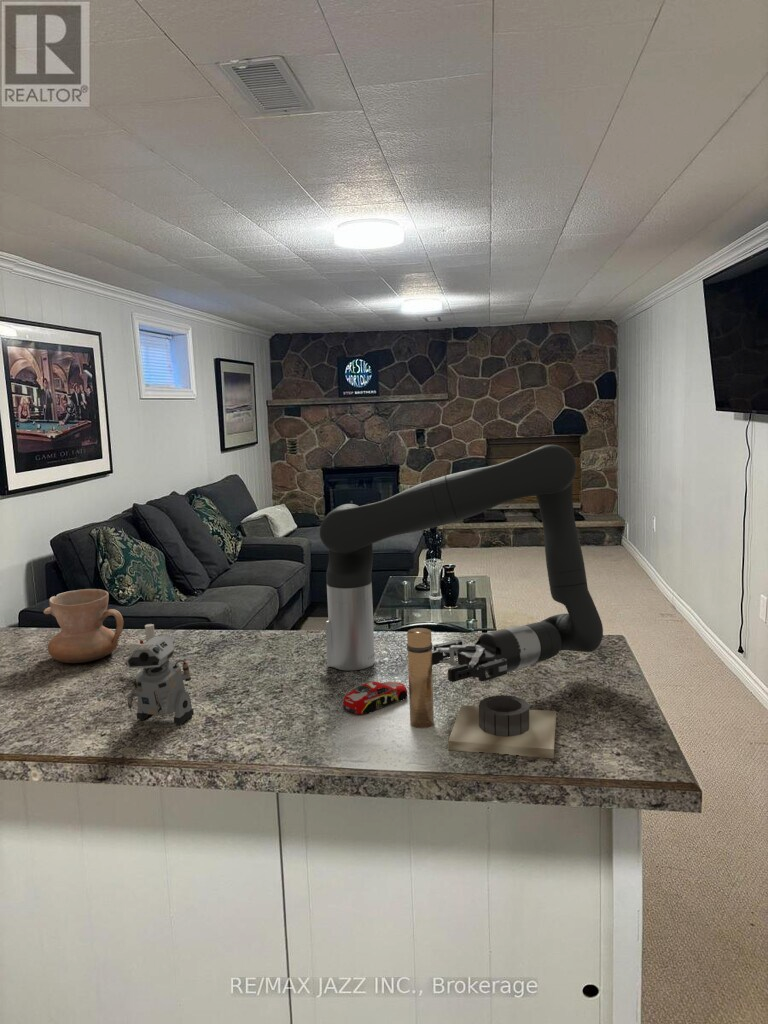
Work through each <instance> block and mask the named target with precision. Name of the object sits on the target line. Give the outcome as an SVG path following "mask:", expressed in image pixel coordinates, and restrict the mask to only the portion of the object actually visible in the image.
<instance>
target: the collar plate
mask: <svg viewBox="0 0 768 1024" xmlns="http://www.w3.org/2000/svg"><path fill="white" fill-rule="evenodd" d="M457 713H458V714H457V716H456V719H455V721H454V725H453V727H452V729H451V733H450V735H449V737H448V741H447V746H448V747H447V750H448V751H455V752H457V751H458V752H468V753H479V752H485V753H484V754H491V753H499V754H498V755H503V754H509V755H508V756H516V755H519V756H518V757H528V758H530V757H531V758H540V757H541V758H542V759H551V760H552V759H554V757H555V745H556V731H555V730H556V727H557V711H555V710H543V709H542V710H540V709H530V703H529V702H528V701H526V700H525V699H523V698H520V697H517V696H514V695H513V696H512V695H503V694H499V695H493V696H487V697H485V698H483V699H480V701H479V704H478V705H467V704H461V705H460V708H459V711H458V712H457Z"/></svg>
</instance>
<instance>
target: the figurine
mask: <svg viewBox="0 0 768 1024" xmlns="http://www.w3.org/2000/svg"><path fill="white" fill-rule="evenodd" d="M175 641H176V640H175V639H174V638H173V637H171V636H170V635H169V634H167V635H166V634H165V635H155V636H154V637H153V638H151V639H150V640H148V641H146V640H145V641H144V640H143V639H141V640H139V643H140V644H142V645H141V646H139V647H138V648H136V649H135V650H134V651H132V652H133V653H132V652H131V653H132V654H130V655H129V656H128V658H127V659H126V660H125V662H124V663H125V666H127V667H128V669H142V670H140V671H139V672H138V673H137V674H135V675H134V678H133V679H132V681H133V686H134V687H133V688H132V689H131V692H130V693H129V694H127V695H126V699H127V707H128V709H130V713H132V712H133V711H132V708H133V707H134V706H133V702H134V697H137V712H136V719H137V720H139V721H140V720H141V721H145V719H148V718H149V716H152V715H153V716H154V715H155V716H167V715H169V714H171V713H174V717H173V724H175V725H177V726H182V725H183V724H185V723H186V721H189V720H190V719H192V718H193V716H194V715H195V712H194V709H193V707H192V699H191V696H190V694H189V693H188V692H187V691H186V689H185V684H184V681H186V682H189V681H191V680H192V677H191V675H190V674H191V673H190V667H189V664H188V662H186V661H184V660H182V659H181V660H177V661H176V662H171V661H170V659H171V658H172V657H173V655H174V652H175V646H174V644H175ZM180 662H182V664H181V665H182V668H181V666H180V664H179V663H180ZM182 670H183V671H182Z"/></svg>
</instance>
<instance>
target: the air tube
mask: <svg viewBox="0 0 768 1024" xmlns="http://www.w3.org/2000/svg"><path fill="white" fill-rule="evenodd" d="M406 633H407V634H406V636H407V637H406V639H407V640H406V641H407V643H406V649H407V661H408V662H407V663H408V664H407V666H408V667H407V668H408V669H407V670H408V694H409V695H408V696H409V699H408V701H409V723H410V726H411V727H414V728H417V729H425V728H431V727H432V726H434V724H435V720H434V718H435V717H434V715H435V713H434V712H435V710H434V686H433V685H434V681H433V679H434V676H433V665H432V651H433V642H432V630H431V629H428V628H423V627H414V628H411V629H409V630H407V631H406Z"/></svg>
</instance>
